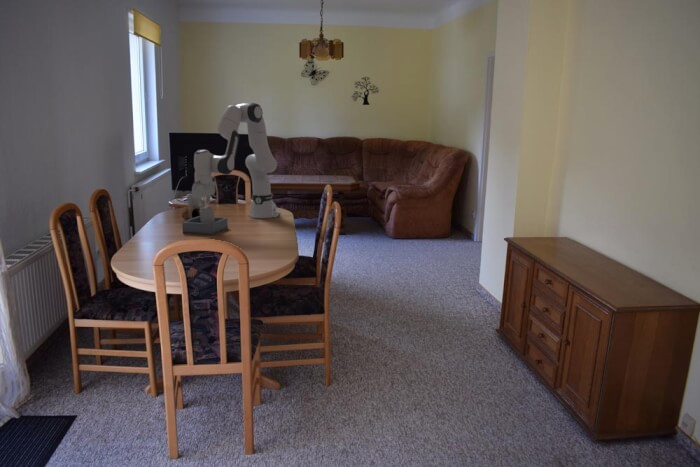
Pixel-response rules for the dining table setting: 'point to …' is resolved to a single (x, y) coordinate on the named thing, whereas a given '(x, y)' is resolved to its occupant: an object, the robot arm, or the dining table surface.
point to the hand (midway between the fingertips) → (204, 204)
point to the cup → (193, 201)
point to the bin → (204, 226)
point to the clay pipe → (191, 212)
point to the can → (207, 215)
